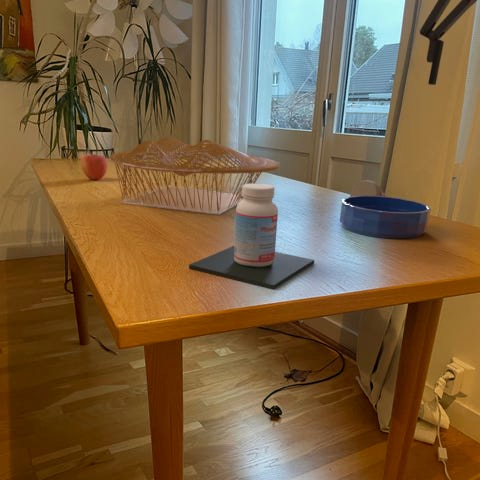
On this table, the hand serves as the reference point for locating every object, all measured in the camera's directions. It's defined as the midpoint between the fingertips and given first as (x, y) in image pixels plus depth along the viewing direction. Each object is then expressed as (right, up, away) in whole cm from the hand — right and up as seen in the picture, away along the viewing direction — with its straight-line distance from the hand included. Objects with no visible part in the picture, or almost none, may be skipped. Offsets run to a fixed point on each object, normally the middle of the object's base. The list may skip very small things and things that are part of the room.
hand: (474, 85), depth 79 cm
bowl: (-10, -20, +19) cm, 29 cm away
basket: (-50, -10, +37) cm, 63 cm away
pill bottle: (-37, -30, -7) cm, 48 cm away
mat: (-37, -31, -7) cm, 49 cm away
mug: (-8, -12, +36) cm, 39 cm away
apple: (-81, +1, +58) cm, 100 cm away
